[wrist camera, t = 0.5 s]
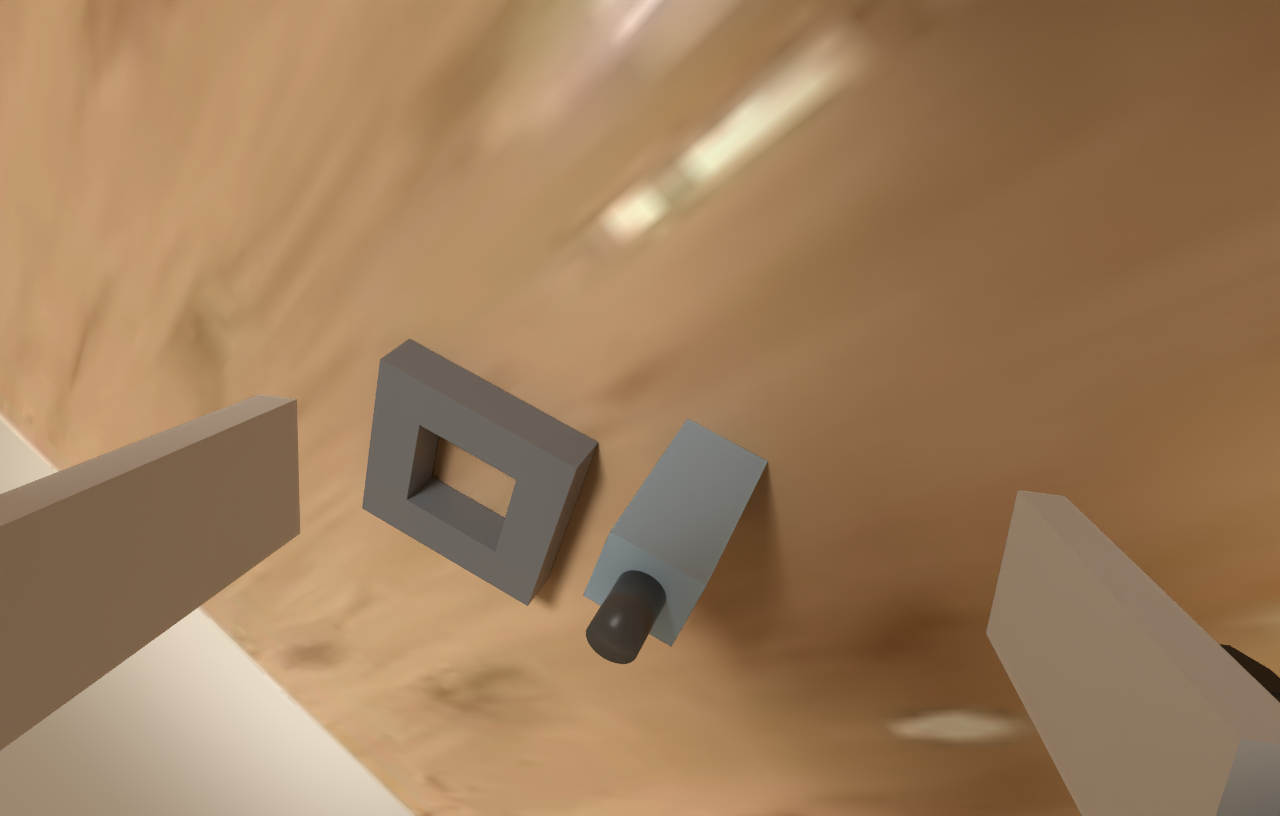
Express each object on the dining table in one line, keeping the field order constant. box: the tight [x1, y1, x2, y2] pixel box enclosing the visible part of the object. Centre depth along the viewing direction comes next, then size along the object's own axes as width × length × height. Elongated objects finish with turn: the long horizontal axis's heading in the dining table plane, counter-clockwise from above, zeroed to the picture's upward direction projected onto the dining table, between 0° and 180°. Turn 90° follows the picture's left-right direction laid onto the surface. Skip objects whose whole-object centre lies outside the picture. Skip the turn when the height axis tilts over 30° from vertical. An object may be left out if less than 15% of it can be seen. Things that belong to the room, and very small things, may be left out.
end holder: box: [362, 339, 598, 606], centre depth 46 cm, size 12×12×2 cm
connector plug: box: [583, 419, 768, 664], centre depth 36 cm, size 4×4×12 cm
